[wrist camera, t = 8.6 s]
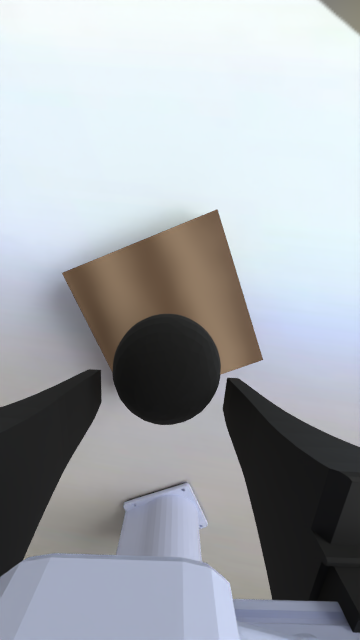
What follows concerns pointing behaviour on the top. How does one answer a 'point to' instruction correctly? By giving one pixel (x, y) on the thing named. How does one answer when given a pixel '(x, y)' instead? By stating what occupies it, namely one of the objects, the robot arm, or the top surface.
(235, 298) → the walnut plinth
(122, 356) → the light bulb
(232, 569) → the top surface
